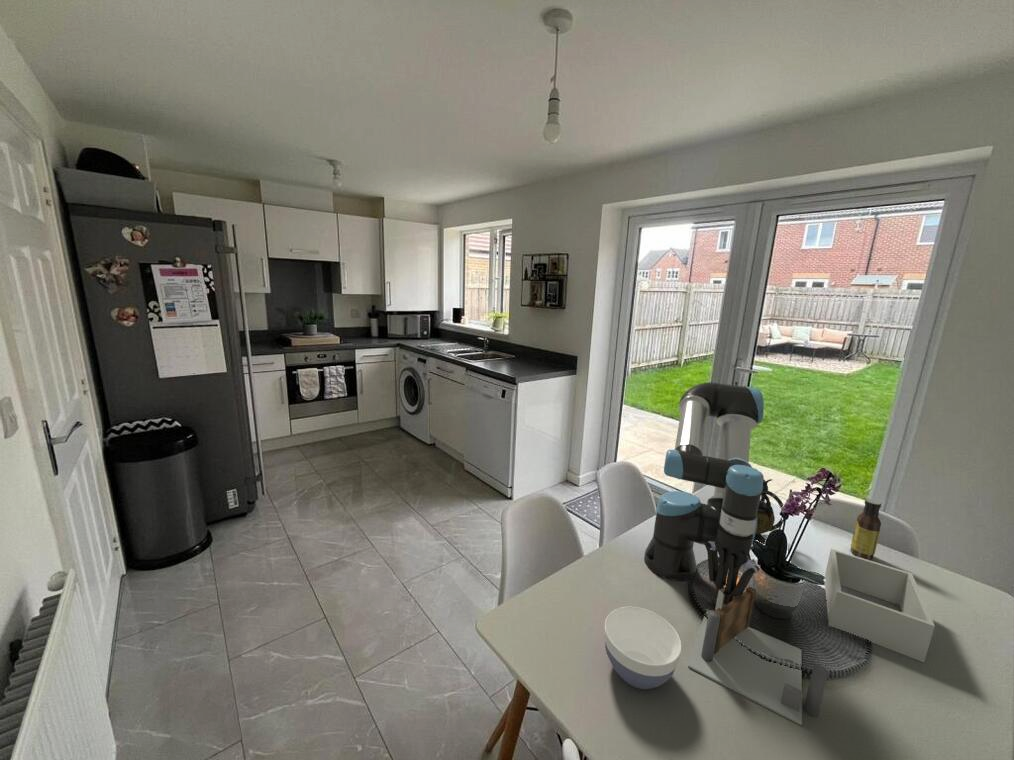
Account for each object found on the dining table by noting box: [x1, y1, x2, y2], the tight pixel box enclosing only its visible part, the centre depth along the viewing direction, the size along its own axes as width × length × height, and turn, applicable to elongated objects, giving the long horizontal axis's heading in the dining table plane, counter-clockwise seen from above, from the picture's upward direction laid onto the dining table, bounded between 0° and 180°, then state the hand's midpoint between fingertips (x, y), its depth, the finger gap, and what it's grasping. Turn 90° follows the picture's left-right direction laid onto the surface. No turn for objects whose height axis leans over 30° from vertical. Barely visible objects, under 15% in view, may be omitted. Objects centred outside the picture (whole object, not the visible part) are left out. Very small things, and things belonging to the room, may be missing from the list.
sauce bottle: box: [849, 498, 882, 561], centre depth 138 cm, size 6×6×20 cm
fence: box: [687, 608, 829, 726], centre depth 93 cm, size 24×22×12 cm
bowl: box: [603, 606, 683, 690], centre depth 90 cm, size 16×16×10 cm
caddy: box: [824, 548, 936, 663], centre depth 111 cm, size 18×24×10 cm
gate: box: [714, 585, 757, 654], centre depth 99 cm, size 16×2×10 cm, turn 124°
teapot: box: [754, 478, 784, 545], centre depth 143 cm, size 12×25×23 cm, turn 107°
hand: (720, 612), depth 105 cm, fingers closed
